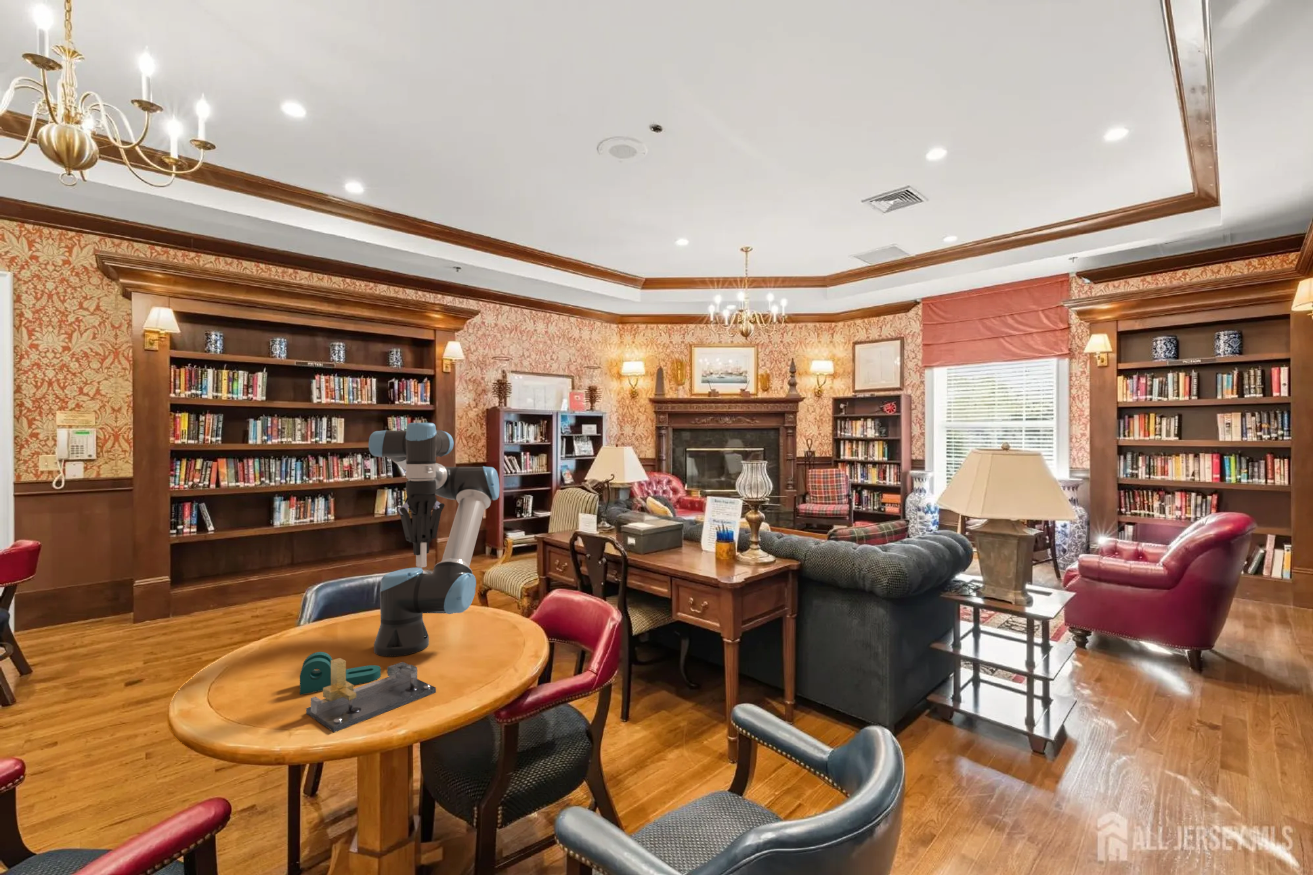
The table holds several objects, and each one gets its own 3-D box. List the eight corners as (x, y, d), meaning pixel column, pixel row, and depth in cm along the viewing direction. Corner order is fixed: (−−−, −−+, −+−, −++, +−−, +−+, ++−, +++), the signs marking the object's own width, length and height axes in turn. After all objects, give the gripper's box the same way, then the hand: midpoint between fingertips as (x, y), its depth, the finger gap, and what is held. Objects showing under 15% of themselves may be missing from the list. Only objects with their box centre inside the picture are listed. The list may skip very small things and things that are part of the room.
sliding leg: (323, 704, 132) (323, 661, 132) (345, 696, 136) (345, 655, 136) (341, 715, 126) (341, 671, 126) (363, 707, 130) (363, 664, 130)
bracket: (299, 695, 140) (299, 663, 140) (302, 684, 146) (302, 654, 146) (380, 681, 148) (380, 651, 148) (380, 671, 154) (380, 642, 154)
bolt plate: (306, 713, 131) (306, 705, 131) (405, 678, 150) (405, 671, 150) (333, 732, 122) (333, 723, 122) (435, 692, 141) (435, 685, 141)
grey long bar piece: (309, 710, 129) (309, 692, 129) (409, 675, 148) (409, 659, 148) (327, 722, 124) (327, 703, 124) (429, 684, 143) (429, 667, 143)
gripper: (405, 481, 147) (405, 572, 147) (450, 478, 157) (450, 563, 157) (390, 480, 151) (390, 568, 151) (435, 477, 162) (435, 560, 162)
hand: (421, 566), depth 154 cm, fingers closed
